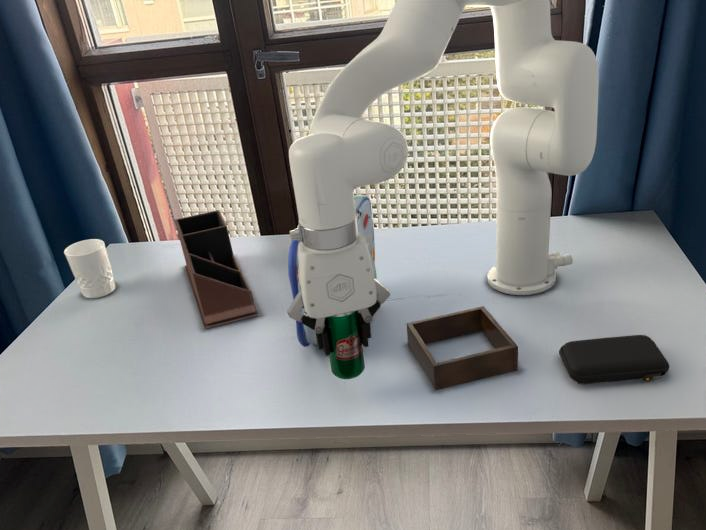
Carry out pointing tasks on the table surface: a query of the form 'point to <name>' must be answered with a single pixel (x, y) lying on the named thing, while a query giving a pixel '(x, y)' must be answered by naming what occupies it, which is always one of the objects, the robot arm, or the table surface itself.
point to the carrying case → (613, 359)
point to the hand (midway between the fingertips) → (345, 345)
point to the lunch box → (303, 332)
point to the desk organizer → (214, 270)
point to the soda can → (345, 345)
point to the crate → (466, 366)
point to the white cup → (91, 267)
